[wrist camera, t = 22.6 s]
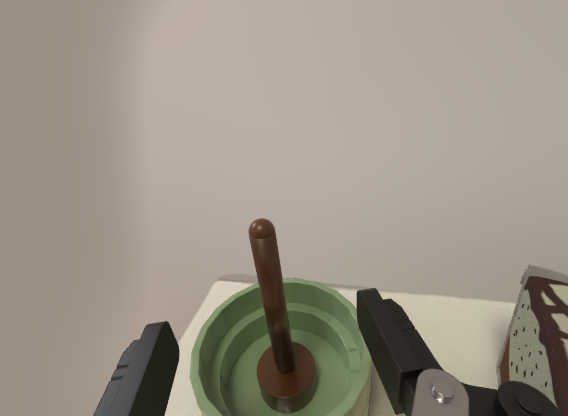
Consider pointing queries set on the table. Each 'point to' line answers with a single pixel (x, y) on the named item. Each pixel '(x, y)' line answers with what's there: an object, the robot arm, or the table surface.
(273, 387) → the brown peg stand
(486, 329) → the table surface
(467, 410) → the robot arm
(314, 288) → the bowl
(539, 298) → the food container
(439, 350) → the table surface
